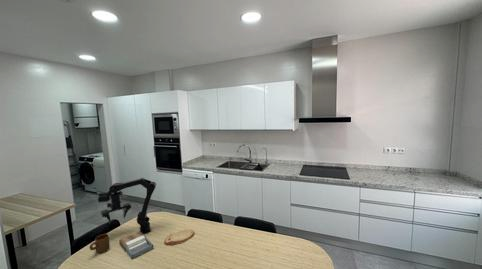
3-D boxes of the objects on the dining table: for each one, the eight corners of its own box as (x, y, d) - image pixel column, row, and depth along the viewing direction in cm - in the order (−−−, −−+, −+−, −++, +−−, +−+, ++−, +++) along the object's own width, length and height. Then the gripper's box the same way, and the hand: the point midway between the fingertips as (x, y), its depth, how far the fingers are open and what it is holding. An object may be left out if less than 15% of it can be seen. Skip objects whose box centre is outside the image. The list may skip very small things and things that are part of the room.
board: (140, 235, 147) (140, 231, 147) (146, 241, 139) (146, 237, 139) (119, 243, 137) (119, 239, 137) (125, 251, 129) (124, 247, 129)
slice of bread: (196, 232, 150) (195, 227, 150) (186, 247, 132) (185, 242, 132) (174, 230, 153) (174, 226, 152) (161, 245, 135) (161, 240, 135)
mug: (95, 259, 122) (94, 245, 121) (86, 257, 124) (85, 243, 123) (112, 247, 133) (111, 234, 133) (103, 245, 135) (102, 232, 135)
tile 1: (143, 238, 138) (142, 235, 138) (145, 240, 136) (145, 237, 136) (126, 245, 130) (125, 242, 130) (128, 248, 128) (127, 245, 128)
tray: (146, 241, 139) (146, 237, 139) (153, 248, 131) (153, 244, 131) (125, 251, 129) (125, 247, 129) (131, 259, 121) (131, 255, 121)
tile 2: (144, 242, 137) (144, 239, 137) (146, 244, 135) (146, 241, 135) (127, 250, 129) (127, 247, 129) (129, 252, 127) (129, 249, 127)
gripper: (125, 194, 157) (127, 212, 158) (98, 201, 143) (99, 222, 145) (130, 197, 150) (132, 217, 151) (101, 205, 136) (103, 227, 137)
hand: (117, 220), depth 146 cm, fingers open, 9 cm apart
